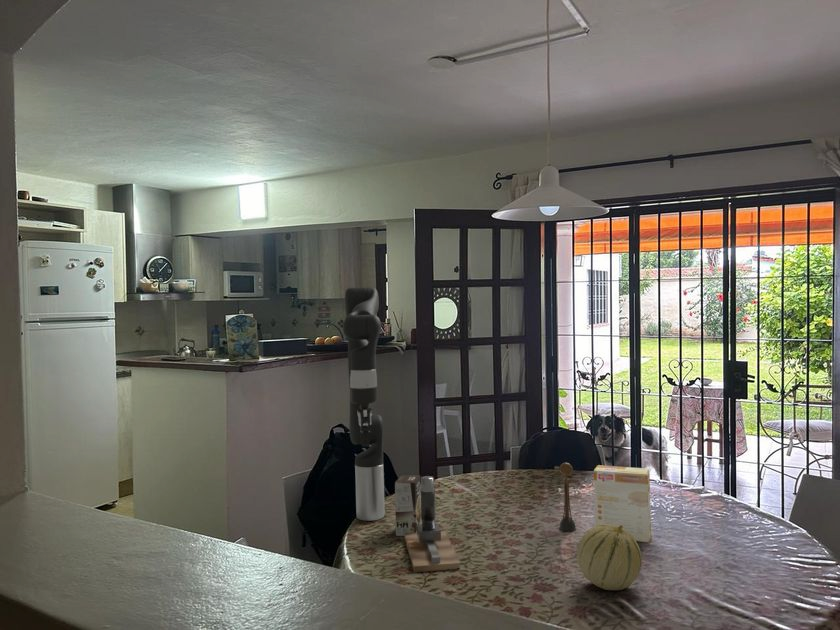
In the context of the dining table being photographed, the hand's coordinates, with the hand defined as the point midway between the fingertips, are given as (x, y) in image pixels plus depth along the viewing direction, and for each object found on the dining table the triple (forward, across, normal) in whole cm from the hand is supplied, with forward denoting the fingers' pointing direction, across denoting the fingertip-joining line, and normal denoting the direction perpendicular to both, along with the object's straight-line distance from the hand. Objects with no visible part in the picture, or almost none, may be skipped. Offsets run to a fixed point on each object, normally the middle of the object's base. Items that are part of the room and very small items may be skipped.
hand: (365, 442), depth 176 cm
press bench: (+30, -6, -17) cm, 35 cm away
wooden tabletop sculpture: (+30, +5, -60) cm, 67 cm away
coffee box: (+30, +12, -13) cm, 35 cm away
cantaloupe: (+30, -35, -56) cm, 73 cm away
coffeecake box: (+30, -4, -74) cm, 80 cm away
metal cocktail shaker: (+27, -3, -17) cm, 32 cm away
